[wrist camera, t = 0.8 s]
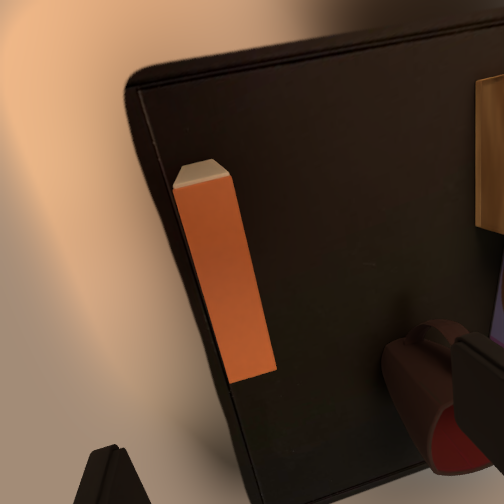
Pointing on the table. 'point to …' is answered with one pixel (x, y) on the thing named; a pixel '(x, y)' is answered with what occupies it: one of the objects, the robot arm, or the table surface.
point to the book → (224, 268)
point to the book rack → (489, 154)
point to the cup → (430, 398)
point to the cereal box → (498, 310)
